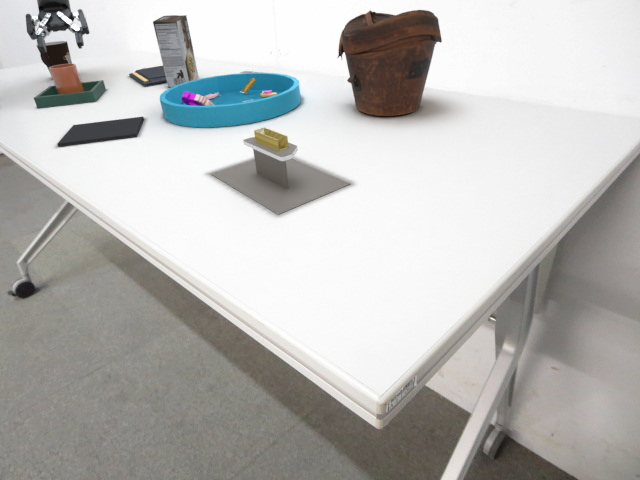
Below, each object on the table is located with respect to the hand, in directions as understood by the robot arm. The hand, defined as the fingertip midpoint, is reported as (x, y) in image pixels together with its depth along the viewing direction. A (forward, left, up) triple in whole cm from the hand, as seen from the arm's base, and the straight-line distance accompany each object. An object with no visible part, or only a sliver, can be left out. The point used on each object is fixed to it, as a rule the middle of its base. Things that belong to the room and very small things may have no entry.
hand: (61, 48), depth 115 cm
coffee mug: (-11, +26, -11) cm, 30 cm away
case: (+71, -50, -11) cm, 87 cm away
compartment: (+1, -7, -11) cm, 13 cm away
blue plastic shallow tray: (+41, -34, -11) cm, 54 cm away
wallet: (+22, +9, -11) cm, 26 cm away
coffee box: (+29, -4, -11) cm, 31 cm away
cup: (+1, -7, -11) cm, 13 cm away
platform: (+45, -77, -11) cm, 90 cm away
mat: (+15, -42, -11) cm, 46 cm away
